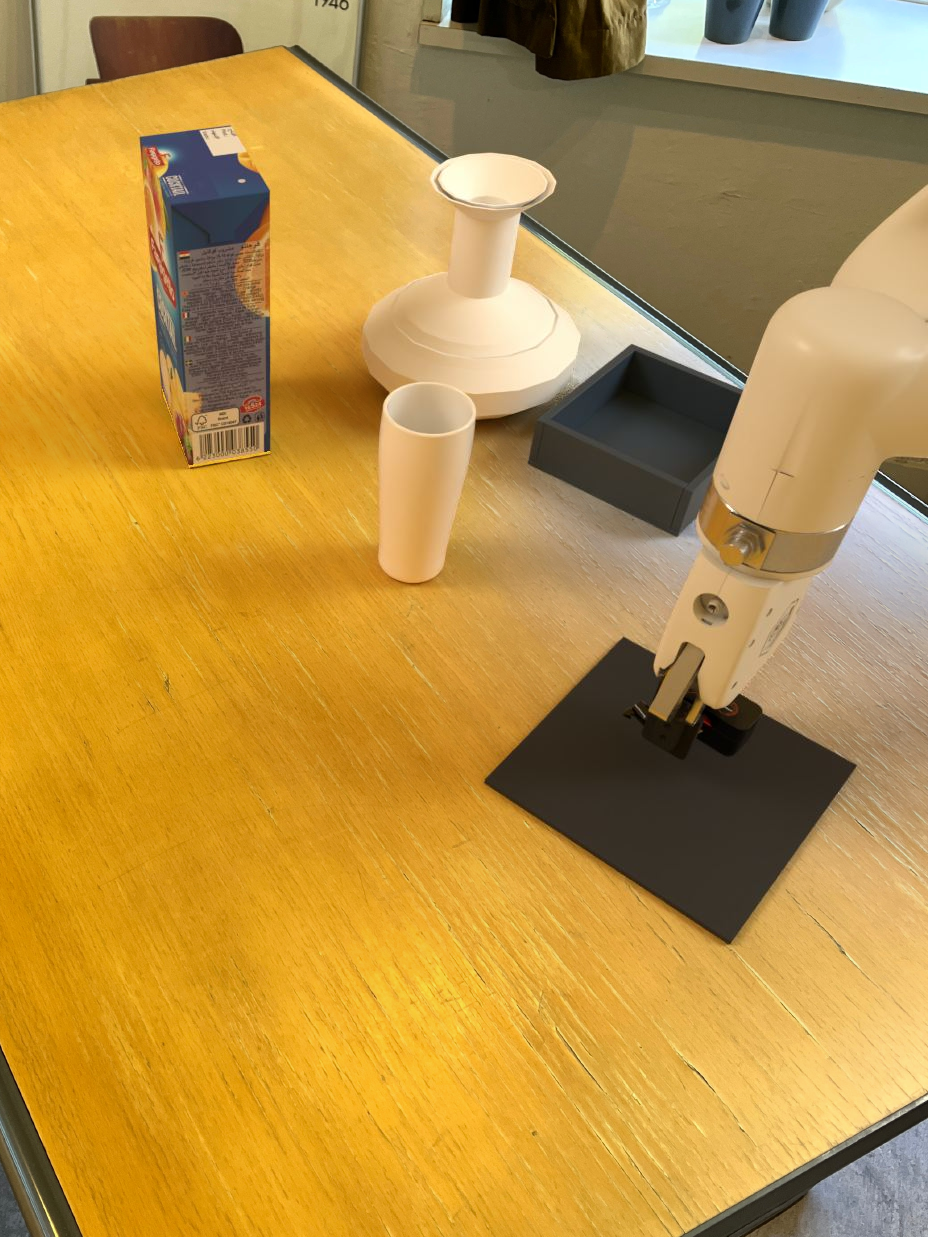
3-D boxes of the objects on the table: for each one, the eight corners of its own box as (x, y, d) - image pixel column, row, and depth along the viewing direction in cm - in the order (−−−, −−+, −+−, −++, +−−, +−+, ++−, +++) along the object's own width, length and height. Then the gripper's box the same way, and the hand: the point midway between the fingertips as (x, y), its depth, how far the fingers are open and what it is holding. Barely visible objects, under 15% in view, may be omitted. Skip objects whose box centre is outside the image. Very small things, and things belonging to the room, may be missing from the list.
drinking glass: (358, 582, 90) (371, 426, 78) (380, 529, 94) (394, 373, 83) (442, 601, 88) (467, 444, 77) (460, 545, 92) (486, 389, 81)
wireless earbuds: (657, 683, 79) (669, 651, 76) (750, 740, 75) (766, 709, 73) (619, 719, 76) (631, 688, 74) (713, 780, 73) (728, 749, 71)
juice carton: (270, 455, 101) (270, 190, 83) (189, 469, 99) (170, 204, 81) (237, 381, 108) (230, 124, 90) (161, 393, 107) (139, 136, 89)
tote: (764, 450, 100) (782, 405, 97) (677, 537, 93) (692, 492, 89) (619, 387, 107) (631, 343, 103) (527, 463, 99) (536, 419, 96)
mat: (855, 768, 77) (857, 764, 77) (729, 945, 68) (731, 942, 68) (622, 639, 85) (623, 636, 85) (483, 782, 76) (484, 779, 76)
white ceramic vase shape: (614, 385, 107) (667, 185, 93) (469, 472, 99) (502, 266, 84) (460, 301, 117) (485, 109, 103) (316, 373, 109) (323, 175, 95)
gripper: (766, 629, 56) (670, 833, 70) (902, 472, 65) (792, 681, 78) (633, 561, 60) (567, 768, 74) (778, 419, 68) (694, 629, 82)
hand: (684, 721), depth 76 cm, fingers closed on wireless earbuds, 4 cm apart
